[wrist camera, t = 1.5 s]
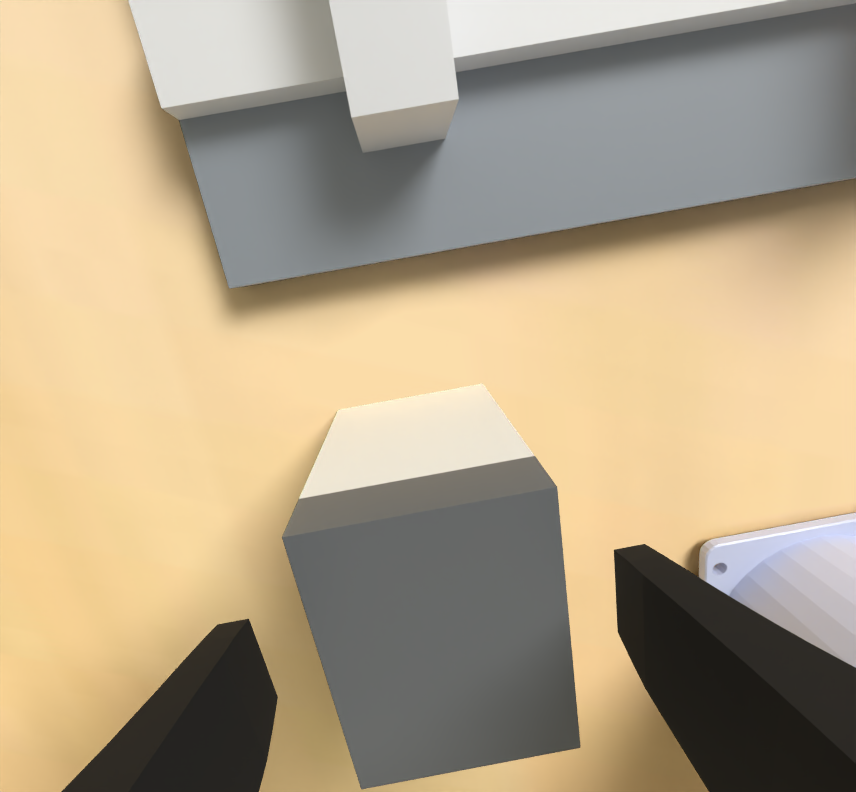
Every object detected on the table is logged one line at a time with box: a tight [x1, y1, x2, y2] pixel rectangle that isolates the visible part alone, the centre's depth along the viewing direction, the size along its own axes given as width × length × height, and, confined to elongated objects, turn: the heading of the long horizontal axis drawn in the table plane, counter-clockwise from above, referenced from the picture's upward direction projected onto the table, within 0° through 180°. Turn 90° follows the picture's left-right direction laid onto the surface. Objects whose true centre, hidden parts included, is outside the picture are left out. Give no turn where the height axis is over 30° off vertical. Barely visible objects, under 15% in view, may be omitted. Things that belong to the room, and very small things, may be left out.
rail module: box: [282, 384, 580, 789], centre depth 11 cm, size 6×4×6 cm
